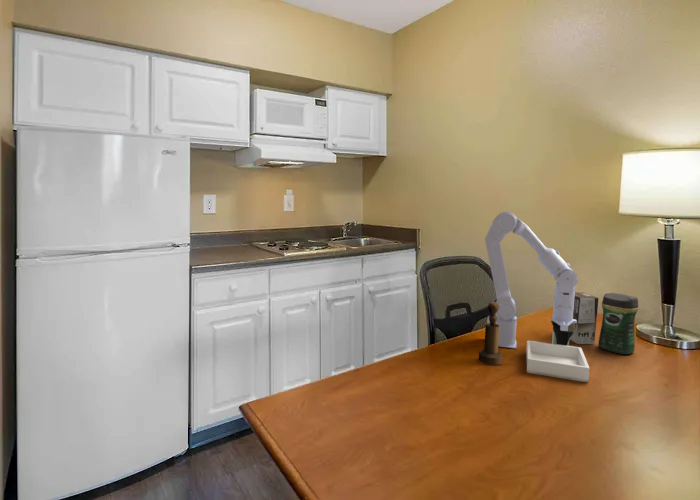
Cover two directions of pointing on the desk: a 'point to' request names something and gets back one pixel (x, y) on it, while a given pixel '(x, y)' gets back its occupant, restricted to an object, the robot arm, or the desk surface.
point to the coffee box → (584, 318)
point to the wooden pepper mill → (491, 339)
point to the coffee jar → (618, 323)
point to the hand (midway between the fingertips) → (560, 346)
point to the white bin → (557, 361)
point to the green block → (555, 339)
